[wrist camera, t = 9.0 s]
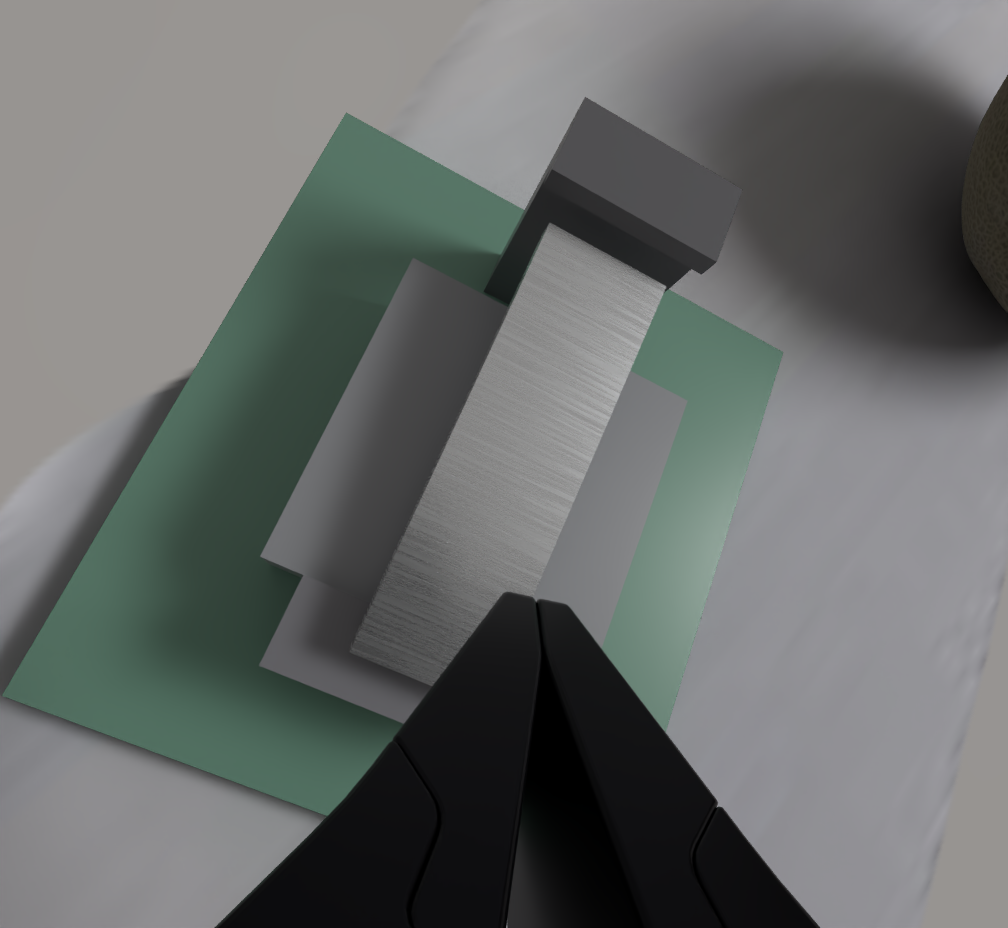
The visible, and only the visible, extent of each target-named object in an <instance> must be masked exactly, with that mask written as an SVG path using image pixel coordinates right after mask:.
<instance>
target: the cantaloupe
mask: <svg viewBox="0 0 1008 928" xmlns="http://www.w3.org/2000/svg"><path fill="white" fill-rule="evenodd" d="M962 232H963V238H964V243H965V247H966V250H967V253H968V256H969V258H970V260H971V261H972V263H973V265H974V267H975V268H976V269H977V270H978V272H979V274H980V276H981V277H982V279H983V281H984V282H985V283H986V285H987V286H988V288H989V289H990V291H991V292H992V294H993V295H994V297H995V298H996V300H997V301H998V302H999V303H1000V305H1001V306H1002V307H1003V308H1004V310H1005V311H1006V312H1007V313H1008V75H1007V77H1006V79H1005V80H1004V82H1003V84H1002V85H1001V87H1000V89H999V90H998V92H997V94H996V95H995V97H994V99H993V101H992V102H991V104H990V106H989V108H988V110H987V112H986V114H985V116H984V118H983V120H982V122H981V124H980V127H979V129H978V132H977V135H976V137H975V140H974V143H973V146H972V149H971V153H970V157H969V161H968V165H967V169H966V174H965V180H964V186H963V194H962Z"/></svg>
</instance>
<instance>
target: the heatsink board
mask: <svg viewBox="0 0 1008 928" xmlns="http://www.w3.org/2000/svg"><path fill="white" fill-rule="evenodd" d="M742 190H743V189H741V188H739V187H738V186H736V185H734V184H733V183H731V182H729V181H727V180H726V179H724V178H722V177H721V176H719V175H717V174H715V173H714V172H712V171H710V170H709V169H707V168H705V167H704V166H702V165H700V164H698V163H697V162H695V161H693V160H692V159H690V158H688V157H687V156H685V155H683V154H681V153H680V152H678V151H676V150H675V149H673V148H671V147H670V146H668V145H666V144H664V143H663V142H661V141H659V140H658V139H656V138H654V137H653V136H651V135H649V134H647V133H646V132H644V131H642V130H641V129H639V128H637V127H635V126H634V125H632V124H630V123H629V122H627V121H625V120H624V119H622V118H620V117H618V116H617V115H615V114H613V113H612V112H610V111H608V110H607V109H605V108H603V107H601V106H600V105H598V104H596V103H595V102H593V101H591V100H590V99H588V98H586V97H585V98H584V100H583V102H582V104H581V106H580V108H579V109H578V111H577V113H576V115H575V117H574V119H573V121H572V123H571V124H570V126H569V128H568V130H567V132H566V134H565V136H564V138H563V139H562V141H561V143H560V145H559V147H558V149H557V151H556V152H555V154H554V156H553V158H552V160H551V162H550V164H549V166H548V167H547V169H546V171H545V173H544V175H543V177H542V179H541V180H540V182H539V184H538V186H537V188H536V190H535V192H534V194H533V195H532V197H531V199H530V201H529V203H528V205H527V207H526V208H525V210H523V209H521V208H519V207H517V206H516V205H514V204H512V203H510V202H508V201H506V200H505V199H503V198H501V197H499V196H497V195H496V194H494V193H492V192H490V191H488V190H486V189H485V188H483V187H481V186H479V185H477V184H475V183H474V182H472V181H470V180H468V179H466V178H465V177H463V176H461V175H459V174H457V173H455V172H454V171H452V170H450V169H448V168H446V167H444V166H443V165H441V164H439V163H437V162H435V161H434V160H432V159H430V158H428V157H426V156H424V155H423V154H421V153H419V152H417V151H415V150H413V149H412V148H410V147H408V146H406V145H404V144H403V143H401V142H399V141H397V140H395V139H393V138H392V137H390V136H388V135H386V134H384V133H382V132H381V131H379V130H377V129H375V128H373V127H372V126H370V125H368V124H366V123H364V122H362V121H361V120H359V119H357V118H355V117H353V116H351V115H350V114H348V113H346V114H345V115H344V117H343V119H342V121H341V122H340V124H339V126H338V127H337V129H336V131H335V132H334V134H333V136H332V138H331V139H330V141H329V143H328V144H327V146H326V148H325V149H324V151H323V153H322V154H321V156H320V158H319V159H318V161H317V163H316V165H315V166H314V168H313V170H312V171H311V173H310V175H309V177H308V178H307V180H306V182H305V183H304V185H303V187H302V188H301V190H300V192H299V193H298V195H297V197H296V199H295V200H294V202H293V204H292V205H291V207H290V209H289V211H288V212H287V214H286V216H285V217H284V219H283V221H282V222H281V224H280V226H279V227H278V229H277V231H276V232H275V234H274V236H273V237H272V239H271V241H270V242H269V244H268V246H267V248H266V249H265V251H264V253H263V254H262V256H261V258H260V259H259V261H258V263H257V265H256V266H255V268H254V270H253V271H252V273H251V275H250V277H249V278H248V280H247V281H246V283H245V285H244V287H243V288H242V290H241V292H240V293H239V295H238V297H237V298H236V300H235V302H234V304H233V305H232V307H231V309H230V310H229V312H228V314H227V315H226V317H225V319H224V320H223V322H222V324H221V325H220V327H219V329H218V331H217V332H216V334H215V336H214V337H213V339H212V341H211V342H210V344H209V346H208V348H207V349H206V351H205V353H204V354H203V356H202V358H201V359H200V361H199V363H198V364H197V366H196V368H195V369H194V371H193V373H192V375H191V376H190V378H189V380H188V381H187V383H186V385H185V386H184V388H183V390H182V391H181V393H180V395H179V397H178V398H177V400H176V402H175V403H174V405H173V407H172V408H171V410H170V412H169V413H168V415H167V417H166V419H165V420H164V422H163V424H162V425H161V427H160V429H159V430H158V432H157V434H156V435H155V437H154V439H153V441H152V442H151V444H150V446H149V447H148V449H147V451H146V452H145V454H144V456H143V458H142V459H141V461H140V463H139V464H138V466H137V468H136V469H135V471H134V473H133V474H132V476H131V478H130V480H129V481H128V483H127V485H126V486H125V488H124V490H123V491H122V493H121V495H120V496H119V498H118V500H117V502H116V503H115V505H114V507H113V508H112V510H111V512H110V513H109V515H108V517H107V518H106V520H105V522H104V524H103V525H102V527H101V529H100V530H99V532H98V534H97V535H96V537H95V539H94V540H93V542H92V544H91V546H90V547H89V549H88V551H87V552H86V554H85V556H84V557H83V559H82V561H81V562H80V564H79V566H78V568H77V569H76V571H75V573H74V574H73V576H72V578H71V579H70V581H69V583H68V585H67V586H66V588H65V590H64V591H63V593H62V595H61V596H60V598H59V600H58V601H57V603H56V605H55V607H54V608H53V610H52V612H51V613H50V615H49V617H48V618H47V620H46V622H45V623H44V625H43V627H42V629H41V630H40V632H39V634H38V635H37V637H36V639H35V640H34V642H33V644H32V645H31V647H30V649H29V651H28V652H27V654H26V656H25V657H24V659H23V661H22V662H21V664H20V666H19V667H18V669H17V671H16V673H15V674H14V676H13V678H12V679H11V681H10V683H9V684H8V686H7V688H6V689H5V691H4V693H3V695H2V696H4V697H6V698H9V699H12V700H15V701H17V702H20V703H23V704H25V705H28V706H31V707H33V708H36V709H39V710H42V711H44V712H47V713H50V714H52V715H55V716H58V717H61V718H63V719H66V720H69V721H71V722H74V723H77V724H79V725H82V726H85V727H88V728H90V729H93V730H96V731H98V732H101V733H104V734H106V735H109V736H112V737H115V738H117V739H120V740H123V741H125V742H128V743H131V744H133V745H136V746H139V747H142V748H144V749H147V750H150V751H152V752H155V753H158V754H161V755H163V756H166V757H169V758H171V759H174V760H177V761H179V762H182V763H185V764H188V765H190V766H193V767H196V768H198V769H201V770H204V771H206V772H209V773H212V774H215V775H217V776H220V777H223V778H225V779H228V780H231V781H233V782H236V783H239V784H242V785H244V786H247V787H250V788H252V789H255V790H258V791H261V792H263V793H266V794H269V795H271V796H274V797H277V798H279V799H282V800H285V801H288V802H290V803H293V804H296V805H298V806H301V807H304V808H306V809H309V810H312V811H315V812H317V813H320V814H323V815H325V816H328V815H329V814H330V813H331V812H332V811H333V810H334V809H335V808H336V807H337V806H338V804H339V803H340V802H341V801H342V800H343V799H344V798H345V797H346V796H347V795H348V793H349V792H350V791H351V790H352V788H353V787H354V786H355V785H356V784H357V782H358V781H359V780H360V779H361V778H362V776H363V775H364V774H365V773H366V772H367V770H368V769H369V768H370V767H371V765H372V764H373V763H374V762H375V760H376V759H377V758H378V756H379V755H380V754H381V752H382V751H383V750H384V748H385V747H386V746H387V745H388V743H389V742H391V741H392V739H393V737H394V736H395V735H396V733H397V732H398V731H399V729H400V728H401V727H402V725H403V724H404V723H405V721H406V720H407V719H408V718H409V716H410V715H411V714H412V712H413V711H414V710H415V708H416V707H417V706H418V704H419V703H420V702H421V700H422V699H423V698H424V696H425V695H426V694H427V692H428V691H429V690H430V689H431V687H432V686H430V685H428V684H425V683H423V682H421V681H418V680H416V679H413V678H411V677H409V676H406V675H404V674H401V673H399V672H396V671H394V670H392V669H389V668H387V667H384V666H382V665H379V664H377V663H375V662H372V661H370V660H367V659H365V658H363V657H360V656H358V655H355V654H353V653H350V645H351V643H352V641H353V639H354V637H355V634H356V632H357V630H358V628H359V626H360V624H361V622H362V619H363V617H364V615H365V613H366V611H367V609H368V607H369V604H370V602H371V600H372V598H373V596H374V594H375V592H376V589H377V587H378V585H379V583H380V581H381V579H382V577H383V574H384V572H385V570H386V568H387V566H388V564H389V562H390V559H391V557H392V555H393V553H394V551H395V549H396V547H397V544H398V542H399V540H400V538H401V536H402V534H403V532H404V529H405V527H406V525H407V523H408V521H409V519H410V517H411V514H412V512H413V510H414V508H415V506H416V504H417V502H418V499H419V497H420V495H421V493H422V491H423V489H424V487H425V484H426V482H427V480H428V478H429V476H430V474H431V472H432V469H433V467H434V465H435V463H436V461H437V459H438V457H439V454H440V452H441V450H442V448H443V446H444V444H445V442H446V439H447V437H448V435H449V433H450V431H451V429H452V426H453V424H454V422H455V420H456V418H457V416H458V414H459V411H460V409H461V407H462V405H463V403H464V401H465V399H466V396H467V394H468V392H469V390H470V388H471V386H472V384H473V381H474V379H475V377H476V375H477V373H478V371H479V369H480V366H481V364H482V362H483V360H484V358H485V356H486V354H487V351H488V349H489V347H490V345H491V343H492V341H493V339H494V336H495V334H496V332H497V330H498V328H499V326H500V324H501V321H502V319H503V317H504V315H505V313H506V311H507V309H508V306H509V304H510V302H511V300H512V298H513V296H514V294H515V291H516V289H517V287H518V285H519V283H520V281H521V279H522V276H523V274H524V272H525V270H526V268H527V266H528V264H529V261H530V259H531V257H532V255H533V253H534V251H535V249H536V246H537V244H538V242H539V240H540V238H541V236H542V234H543V232H544V230H545V229H546V227H547V226H548V224H549V223H552V224H554V225H555V226H557V227H559V228H561V229H563V230H565V231H566V232H568V233H570V234H572V235H574V236H575V237H577V238H579V239H581V240H583V241H585V242H586V243H588V244H590V245H592V246H594V247H596V248H597V249H599V250H601V251H603V252H605V253H606V254H608V255H610V256H612V257H614V258H616V259H617V260H619V261H621V262H623V263H625V264H626V265H628V266H630V267H632V268H634V269H636V270H637V271H639V272H641V273H643V274H645V275H647V276H648V277H650V278H652V279H654V280H656V281H657V282H659V283H661V284H663V285H665V286H666V289H665V291H664V293H663V296H662V298H661V300H660V303H659V305H658V307H657V310H656V312H655V314H654V317H653V319H652V321H651V324H650V326H649V328H648V331H647V333H646V335H645V338H644V340H643V342H642V345H641V347H640V349H639V352H638V354H637V356H636V359H635V361H634V363H633V365H632V368H631V370H630V372H629V375H628V377H627V379H626V382H625V384H624V386H623V389H622V391H621V393H620V396H619V398H618V400H617V403H616V405H615V407H614V410H613V412H612V414H611V417H610V419H609V421H608V424H607V426H606V428H605V431H604V433H603V435H602V438H601V440H600V442H599V445H598V447H597V449H596V452H595V454H594V456H593V458H592V461H591V463H590V465H589V468H588V470H587V472H586V475H585V477H584V479H583V482H582V484H581V486H580V489H579V491H578V493H577V496H576V498H575V500H574V503H573V505H572V507H571V510H570V512H569V514H568V517H567V519H566V521H565V524H564V526H563V528H562V531H561V533H560V535H559V538H558V540H557V542H556V545H555V547H554V549H553V551H552V554H551V556H550V558H549V561H548V563H547V565H546V568H545V570H544V572H543V575H542V577H541V579H540V582H539V584H538V586H537V589H536V591H535V593H534V596H533V598H534V599H535V601H537V600H538V599H546V600H550V601H555V602H560V603H564V604H567V605H568V606H569V607H570V608H571V609H572V610H573V611H574V613H575V614H576V615H577V617H578V618H579V619H580V621H581V622H582V623H583V625H584V626H585V627H586V629H587V630H588V631H589V632H590V634H591V635H592V636H593V638H594V639H595V640H596V642H597V643H598V644H599V646H600V647H601V648H602V650H603V651H604V652H605V654H606V655H607V656H608V658H609V659H610V660H611V661H612V663H613V664H614V665H615V667H616V668H617V669H618V671H619V672H620V673H621V675H622V676H623V677H624V679H625V680H626V681H627V683H628V684H629V685H630V686H631V688H632V689H633V690H634V692H635V693H636V694H637V696H638V697H639V698H640V700H641V701H642V702H643V704H644V705H645V706H646V708H647V709H648V710H649V711H650V713H651V714H652V715H653V717H654V718H655V719H656V721H657V722H658V723H659V725H660V726H661V727H662V729H663V730H664V731H665V732H666V729H667V726H668V722H669V719H670V716H671V713H672V710H673V706H674V703H675V700H676V697H677V693H678V690H679V687H680V684H681V681H682V677H683V674H684V671H685V668H686V664H687V661H688V658H689V655H690V651H691V648H692V645H693V642H694V639H695V635H696V632H697V629H698V626H699V622H700V619H701V616H702V613H703V610H704V606H705V603H706V600H707V597H708V593H709V590H710V587H711V584H712V581H713V577H714V574H715V571H716V568H717V564H718V561H719V558H720V555H721V551H722V548H723V545H724V542H725V539H726V535H727V532H728V529H729V526H730V522H731V519H732V516H733V513H734V510H735V506H736V503H737V500H738V497H739V493H740V490H741V487H742V484H743V481H744V477H745V474H746V471H747V468H748V464H749V461H750V458H751V455H752V451H753V448H754V445H755V442H756V439H757V435H758V432H759V429H760V426H761V422H762V419H763V416H764V413H765V410H766V406H767V403H768V400H769V397H770V393H771V390H772V387H773V384H774V380H775V377H776V374H777V371H778V368H779V364H780V361H781V358H782V355H783V352H782V351H780V350H778V349H776V348H775V347H773V346H771V345H769V344H767V343H765V342H764V341H762V340H760V339H758V338H756V337H755V336H753V335H751V334H749V333H747V332H745V331H744V330H742V329H740V328H738V327H736V326H734V325H733V324H731V323H729V322H727V321H725V320H724V319H722V318H720V317H718V316H716V315H714V314H713V313H711V312H709V311H707V310H705V309H703V308H702V307H700V306H698V305H696V304H694V303H693V302H691V301H689V300H687V299H685V298H683V297H682V296H680V295H678V294H676V293H674V292H672V291H671V290H669V288H670V287H671V286H673V285H674V284H675V283H676V282H677V281H678V280H679V279H681V278H682V277H683V276H684V275H685V274H686V273H687V272H688V271H690V270H691V269H693V270H694V271H696V272H698V273H700V274H703V273H704V272H705V271H706V270H708V269H709V268H710V267H711V266H712V265H714V264H715V263H716V262H717V260H718V257H719V254H720V251H721V248H722V246H723V243H724V240H725V237H726V234H727V232H728V229H729V226H730V223H731V220H732V218H733V215H734V212H735V209H736V206H737V204H738V201H739V198H740V195H741V192H742Z"/></svg>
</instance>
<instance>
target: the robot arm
mask: <svg viewBox="0 0 1008 928" xmlns="http://www.w3.org/2000/svg"><path fill="white" fill-rule="evenodd" d="M717 805H718V802H717V800H716V798H715V797H714V796H713V794H712V793H711V792H710V790H709V789H708V788H707V787H706V785H705V784H704V783H703V781H702V780H701V779H700V777H699V776H698V775H697V773H696V772H695V771H694V769H693V768H692V767H691V765H690V764H689V763H688V762H687V760H686V759H685V758H684V756H683V755H682V754H681V752H680V751H679V750H678V748H677V747H676V746H675V744H674V743H673V742H672V740H671V739H670V738H669V737H668V735H667V734H666V733H665V731H664V730H663V729H662V727H661V726H660V725H659V723H658V722H657V721H656V719H655V718H654V717H653V715H652V714H651V713H650V711H649V710H648V709H647V708H646V706H645V705H644V704H643V702H642V701H641V700H640V698H639V697H638V696H637V694H636V693H635V692H634V690H633V689H632V688H631V686H630V685H629V684H628V683H627V681H626V680H625V679H624V677H623V676H622V675H621V673H620V672H619V671H618V669H617V668H616V667H615V665H614V664H613V663H612V661H611V660H610V659H609V658H608V656H607V655H606V654H605V652H604V651H603V650H602V648H601V647H600V646H599V644H598V643H597V642H596V640H595V639H594V638H593V636H592V635H591V634H590V632H589V631H588V630H587V629H586V627H585V626H584V625H583V623H582V622H581V621H580V619H579V618H578V617H577V615H576V614H575V613H574V611H573V610H572V609H571V608H570V607H569V606H568V605H567V604H564V603H560V602H555V601H550V600H546V599H538V600H537V601H535V599H534V598H533V597H531V596H527V595H523V594H518V593H513V592H508V591H507V592H504V593H503V594H502V595H501V596H500V598H499V599H498V600H497V602H496V603H495V604H494V605H493V607H492V608H491V609H490V611H489V612H488V613H487V615H486V616H485V617H484V619H483V620H482V621H481V623H480V624H479V625H478V627H477V628H476V629H475V631H474V632H473V633H472V634H471V636H470V637H469V638H468V640H467V641H466V642H465V644H464V645H463V646H462V648H461V649H460V650H459V652H458V653H457V654H456V656H455V657H454V658H453V660H452V661H451V662H450V663H449V665H448V666H447V667H446V669H445V670H444V671H443V673H442V674H441V675H440V677H439V678H438V679H437V681H436V682H435V683H434V685H433V686H432V687H431V689H430V690H429V691H428V692H427V694H426V695H425V696H424V698H423V699H422V700H421V702H420V703H419V704H418V706H417V707H416V708H415V710H414V711H413V712H412V714H411V715H410V716H409V718H408V719H407V720H406V721H405V723H404V724H403V725H402V727H401V728H400V729H399V731H398V732H397V733H396V735H395V736H394V737H393V739H392V741H391V742H389V743H388V745H387V746H386V747H385V748H384V750H383V751H382V752H381V754H380V755H379V756H378V758H377V759H376V760H375V762H374V763H373V764H372V765H371V767H370V768H369V769H368V770H367V772H366V773H365V774H364V775H363V776H362V778H361V779H360V780H359V781H358V782H357V784H356V785H355V786H354V787H353V788H352V790H351V791H350V792H349V793H348V795H347V796H346V797H345V798H344V799H343V800H342V801H341V802H340V803H339V804H338V806H337V807H336V808H335V809H334V810H333V811H332V812H331V813H330V814H329V815H328V816H327V817H326V818H325V819H324V820H323V821H322V822H321V823H320V824H319V825H318V826H317V828H316V829H315V830H314V831H313V832H312V833H311V834H310V835H309V836H308V837H307V838H306V839H305V840H304V841H303V842H302V843H301V844H300V845H299V846H298V847H297V848H296V849H295V850H294V851H293V852H291V853H290V854H289V855H288V856H287V857H286V858H285V859H284V860H283V861H282V862H281V863H280V864H279V865H278V866H277V867H276V868H275V869H274V870H273V871H272V872H271V873H270V874H269V875H268V876H267V877H266V878H265V879H264V880H263V881H262V882H261V883H260V884H259V885H258V886H257V887H256V888H255V889H254V890H253V891H252V892H251V893H250V894H249V895H248V896H246V897H245V898H244V899H243V900H242V901H241V902H240V903H239V904H238V905H237V906H236V907H235V908H234V909H233V910H232V911H231V912H230V913H229V914H228V915H227V916H226V917H225V918H224V919H223V920H222V921H221V922H220V923H219V924H218V925H217V926H216V927H215V928H506V924H507V926H508V928H820V927H819V926H818V924H817V923H816V922H815V921H814V920H813V919H812V917H811V916H810V915H809V914H808V913H807V912H806V910H805V909H804V908H803V907H802V906H801V905H800V903H799V902H798V901H797V900H796V899H795V898H794V896H793V895H792V894H791V893H790V892H789V891H788V890H787V888H786V887H785V886H784V885H783V884H782V883H781V881H780V880H779V879H778V878H777V876H776V875H775V874H774V873H773V871H772V870H771V869H770V868H769V866H768V865H767V864H766V863H765V861H764V860H763V859H762V858H761V856H760V855H759V854H758V852H757V851H756V850H755V849H754V847H753V846H752V845H751V844H750V842H749V841H748V840H747V839H746V837H745V836H744V835H743V834H742V832H741V831H740V830H739V828H738V827H737V826H736V824H735V823H734V822H733V820H732V819H731V818H730V816H729V815H728V814H727V812H726V811H725V810H724V809H723V808H722V807H717ZM716 807H717V808H716Z"/></svg>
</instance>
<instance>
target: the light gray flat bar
mask: <svg viewBox="0 0 1008 928" xmlns="http://www.w3.org/2000/svg"><path fill="white" fill-rule="evenodd" d="M665 289H666V286H665V285H663V284H661V283H659V282H657V281H656V280H654V279H652V278H650V277H648V276H647V275H645V274H643V273H641V272H639V271H637V270H636V269H634V268H632V267H630V266H628V265H626V264H625V263H623V262H621V261H619V260H617V259H616V258H614V257H612V256H610V255H608V254H606V253H605V252H603V251H601V250H599V249H597V248H596V247H594V246H592V245H590V244H588V243H586V242H585V241H583V240H581V239H579V238H577V237H575V236H574V235H572V234H570V233H568V232H566V231H565V230H563V229H561V228H559V227H557V226H555V225H554V224H552V223H549V224H548V226H547V227H546V229H545V230H544V232H543V234H542V236H541V238H540V240H539V242H538V244H537V246H536V249H535V251H534V253H533V255H532V257H531V259H530V261H529V264H528V266H527V268H526V270H525V272H524V274H523V276H522V279H521V281H520V283H519V285H518V287H517V289H516V291H515V294H514V296H513V298H512V300H511V302H510V304H509V306H508V309H507V311H506V313H505V315H504V317H503V319H502V321H501V324H500V326H499V328H498V330H497V332H496V334H495V336H494V339H493V341H492V343H491V345H490V347H489V349H488V351H487V354H486V356H485V358H484V360H483V362H482V364H481V366H480V369H479V371H478V373H477V375H476V377H475V379H474V381H473V384H472V386H471V388H470V390H469V392H468V394H467V396H466V399H465V401H464V403H463V405H462V407H461V409H460V411H459V414H458V416H457V418H456V420H455V422H454V424H453V426H452V429H451V431H450V433H449V435H448V437H447V439H446V442H445V444H444V446H443V448H442V450H441V452H440V454H439V457H438V459H437V461H436V463H435V465H434V467H433V469H432V472H431V474H430V476H429V478H428V480H427V482H426V484H425V487H424V489H423V491H422V493H421V495H420V497H419V499H418V502H417V504H416V506H415V508H414V510H413V512H412V514H411V517H410V519H409V521H408V523H407V525H406V527H405V529H404V532H403V534H402V536H401V538H400V540H399V542H398V544H397V547H396V549H395V551H394V553H393V555H392V557H391V559H390V562H389V564H388V566H387V568H386V570H385V572H384V574H383V577H382V579H381V581H380V583H379V585H378V587H377V589H376V592H375V594H374V596H373V598H372V600H371V602H370V604H369V607H368V609H367V611H366V613H365V615H364V617H363V619H362V622H361V624H360V626H359V628H358V630H357V632H356V634H355V637H354V639H353V641H352V643H351V645H350V653H353V654H355V655H358V656H360V657H363V658H365V659H367V660H370V661H372V662H375V663H377V664H379V665H382V666H384V667H387V668H389V669H392V670H394V671H396V672H399V673H401V674H404V675H406V676H409V677H411V678H413V679H416V680H418V681H421V682H423V683H425V684H428V685H430V686H433V685H434V683H435V682H436V681H437V679H438V678H439V677H440V675H441V674H442V673H443V671H444V670H445V669H446V667H447V666H448V665H449V663H450V662H451V661H452V660H453V658H454V657H455V656H456V654H457V653H458V652H459V650H460V649H461V648H462V646H463V645H464V644H465V642H466V641H467V640H468V638H469V637H470V636H471V634H472V633H473V632H474V631H475V629H476V628H477V627H478V625H479V624H480V623H481V621H482V620H483V619H484V617H485V616H486V615H487V613H488V612H489V611H490V609H491V608H492V607H493V605H494V604H495V603H496V602H497V600H498V599H499V598H500V596H501V595H502V594H503V593H504V592H507V591H508V592H513V593H518V594H523V595H527V596H531V597H533V596H534V593H535V591H536V589H537V586H538V584H539V582H540V579H541V577H542V575H543V572H544V570H545V568H546V565H547V563H548V561H549V558H550V556H551V554H552V551H553V549H554V547H555V545H556V542H557V540H558V538H559V535H560V533H561V531H562V528H563V526H564V524H565V521H566V519H567V517H568V514H569V512H570V510H571V507H572V505H573V503H574V500H575V498H576V496H577V493H578V491H579V489H580V486H581V484H582V482H583V479H584V477H585V475H586V472H587V470H588V468H589V465H590V463H591V461H592V458H593V456H594V454H595V452H596V449H597V447H598V445H599V442H600V440H601V438H602V435H603V433H604V431H605V428H606V426H607V424H608V421H609V419H610V417H611V414H612V412H613V410H614V407H615V405H616V403H617V400H618V398H619V396H620V393H621V391H622V389H623V386H624V384H625V382H626V379H627V377H628V375H629V372H630V370H631V368H632V365H633V363H634V361H635V359H636V356H637V354H638V352H639V349H640V347H641V345H642V342H643V340H644V338H645V335H646V333H647V331H648V328H649V326H650V324H651V321H652V319H653V317H654V314H655V312H656V310H657V307H658V305H659V303H660V300H661V298H662V296H663V293H664V291H665Z"/></svg>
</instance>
